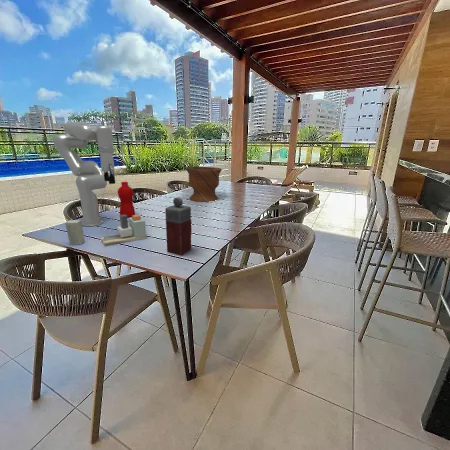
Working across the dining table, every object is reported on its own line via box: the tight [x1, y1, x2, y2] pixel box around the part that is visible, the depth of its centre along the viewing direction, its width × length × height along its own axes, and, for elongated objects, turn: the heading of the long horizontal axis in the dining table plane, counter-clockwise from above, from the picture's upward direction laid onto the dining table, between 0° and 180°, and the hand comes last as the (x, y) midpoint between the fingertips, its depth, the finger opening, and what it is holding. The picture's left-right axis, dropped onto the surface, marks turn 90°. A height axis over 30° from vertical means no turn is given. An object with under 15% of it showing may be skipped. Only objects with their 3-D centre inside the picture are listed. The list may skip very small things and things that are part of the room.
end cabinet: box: [128, 217, 147, 238], centre depth 142 cm, size 10×6×9 cm, turn 37°
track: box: [99, 233, 147, 247], centre depth 139 cm, size 10×22×4 cm, turn 127°
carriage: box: [116, 214, 133, 238], centre depth 138 cm, size 7×6×12 cm
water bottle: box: [117, 181, 136, 219], centre depth 177 cm, size 9×11×25 cm
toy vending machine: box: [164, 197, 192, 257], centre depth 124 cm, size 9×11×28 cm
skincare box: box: [64, 219, 86, 245], centre depth 131 cm, size 6×4×12 cm
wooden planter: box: [185, 166, 223, 203], centre depth 239 cm, size 34×35×29 cm
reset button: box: [131, 214, 142, 221], centre depth 141 cm, size 4×4×3 cm
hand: (109, 182), depth 139 cm, fingers open, 9 cm apart
